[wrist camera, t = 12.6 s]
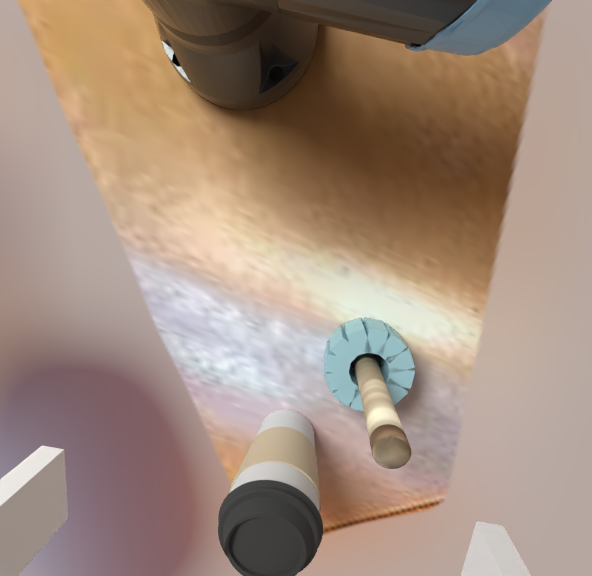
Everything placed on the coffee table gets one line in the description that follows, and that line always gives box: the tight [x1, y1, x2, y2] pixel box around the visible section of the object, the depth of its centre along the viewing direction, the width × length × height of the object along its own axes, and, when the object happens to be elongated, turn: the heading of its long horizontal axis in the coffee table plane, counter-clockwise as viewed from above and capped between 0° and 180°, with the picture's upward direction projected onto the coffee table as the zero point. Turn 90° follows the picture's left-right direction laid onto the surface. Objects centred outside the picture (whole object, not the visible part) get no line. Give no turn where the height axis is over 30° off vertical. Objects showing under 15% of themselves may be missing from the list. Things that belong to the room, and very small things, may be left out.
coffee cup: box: [218, 409, 323, 576], centre depth 33 cm, size 9×9×15 cm
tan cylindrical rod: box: [353, 353, 411, 469], centre depth 30 cm, size 2×2×16 cm
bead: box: [324, 318, 415, 411], centre depth 36 cm, size 9×9×4 cm
